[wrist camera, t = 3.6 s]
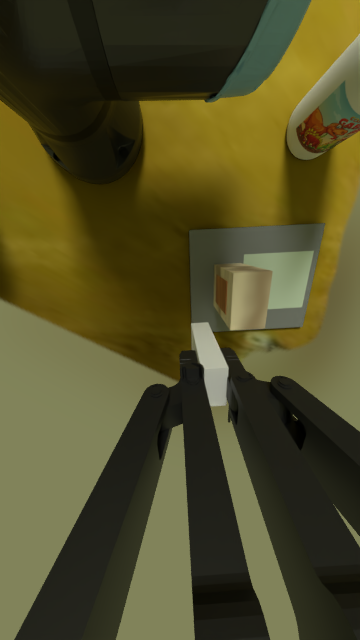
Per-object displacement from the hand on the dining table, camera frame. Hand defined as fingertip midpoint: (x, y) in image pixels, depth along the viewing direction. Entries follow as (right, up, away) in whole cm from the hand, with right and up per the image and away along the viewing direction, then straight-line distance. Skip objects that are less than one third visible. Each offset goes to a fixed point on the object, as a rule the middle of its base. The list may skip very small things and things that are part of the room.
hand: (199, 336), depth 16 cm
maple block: (+7, +8, +19) cm, 22 cm away
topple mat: (+12, +9, +20) cm, 25 cm away
